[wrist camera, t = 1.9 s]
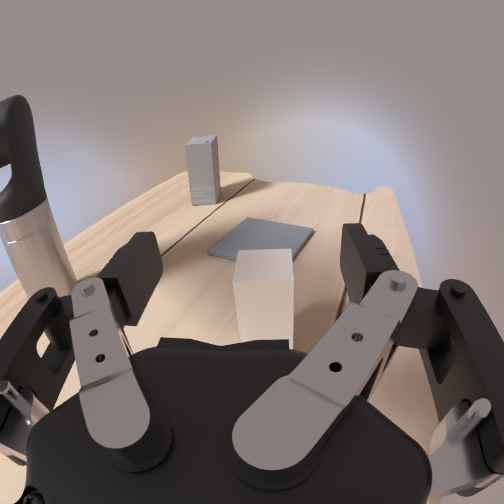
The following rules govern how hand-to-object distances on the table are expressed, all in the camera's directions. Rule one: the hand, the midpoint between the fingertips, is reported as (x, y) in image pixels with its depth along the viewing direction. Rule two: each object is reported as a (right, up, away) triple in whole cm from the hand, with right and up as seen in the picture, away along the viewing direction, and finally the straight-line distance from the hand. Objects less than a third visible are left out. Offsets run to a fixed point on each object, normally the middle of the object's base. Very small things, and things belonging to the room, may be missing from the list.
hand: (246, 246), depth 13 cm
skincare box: (-11, +13, +63) cm, 65 cm away
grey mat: (+2, +1, +41) cm, 42 cm away
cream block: (+2, -12, +20) cm, 23 cm away
